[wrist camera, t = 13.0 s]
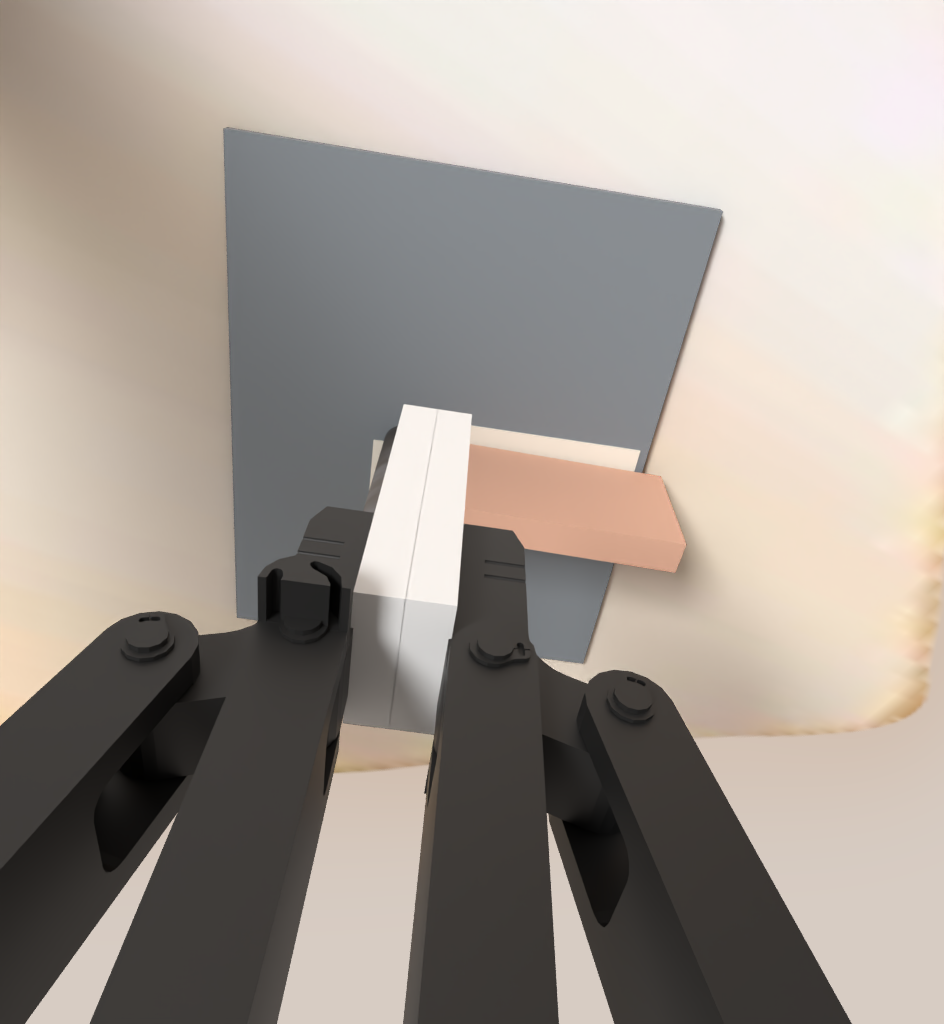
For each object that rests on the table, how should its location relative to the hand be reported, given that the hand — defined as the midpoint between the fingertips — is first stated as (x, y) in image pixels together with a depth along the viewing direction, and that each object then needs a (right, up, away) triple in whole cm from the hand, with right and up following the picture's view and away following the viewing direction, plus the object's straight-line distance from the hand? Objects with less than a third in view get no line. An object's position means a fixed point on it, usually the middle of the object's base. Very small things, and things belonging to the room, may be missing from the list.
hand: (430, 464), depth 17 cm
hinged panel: (+5, +1, +27) cm, 27 cm away
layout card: (-1, +3, +27) cm, 27 cm away
